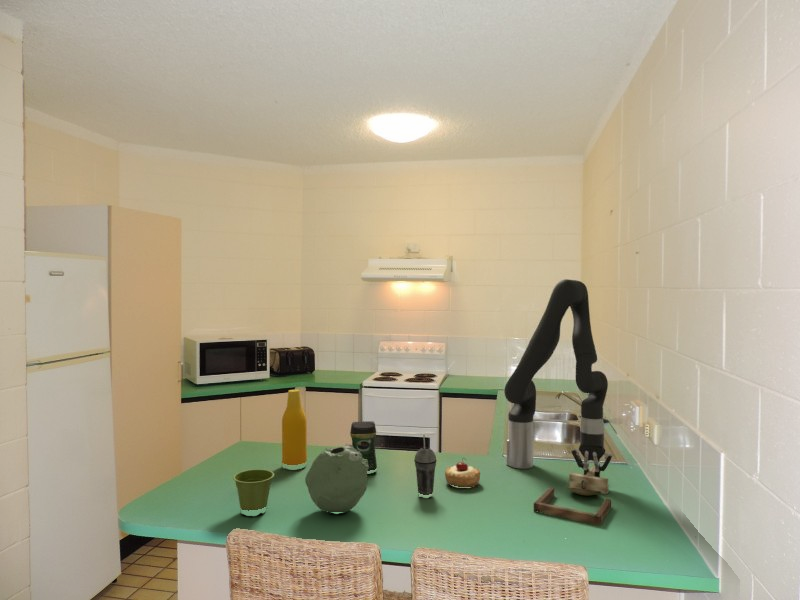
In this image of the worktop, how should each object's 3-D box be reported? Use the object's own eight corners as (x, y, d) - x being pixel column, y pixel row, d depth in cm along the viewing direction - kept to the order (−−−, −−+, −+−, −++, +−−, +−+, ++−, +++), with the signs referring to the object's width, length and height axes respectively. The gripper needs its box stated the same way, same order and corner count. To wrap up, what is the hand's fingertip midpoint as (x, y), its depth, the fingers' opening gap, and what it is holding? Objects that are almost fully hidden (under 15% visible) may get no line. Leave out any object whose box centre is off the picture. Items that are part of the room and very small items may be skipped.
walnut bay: (533, 511, 162) (533, 503, 162) (549, 495, 175) (549, 487, 175) (599, 525, 152) (599, 517, 152) (611, 507, 165) (611, 499, 165)
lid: (565, 500, 171) (565, 484, 171) (567, 489, 181) (567, 474, 180) (601, 504, 168) (601, 488, 168) (601, 493, 177) (601, 478, 177)
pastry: (441, 489, 182) (440, 463, 182) (450, 477, 193) (449, 452, 193) (476, 492, 178) (475, 465, 178) (483, 480, 189) (482, 455, 189)
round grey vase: (306, 503, 169) (306, 439, 169) (367, 500, 171) (366, 437, 171) (304, 525, 153) (303, 454, 153) (370, 521, 156) (370, 451, 155)
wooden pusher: (569, 487, 182) (569, 474, 182) (578, 476, 192) (578, 464, 192) (607, 494, 176) (607, 480, 176) (614, 482, 186) (614, 469, 186)
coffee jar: (376, 468, 203) (376, 418, 203) (377, 475, 195) (377, 424, 195) (350, 469, 202) (350, 419, 202) (350, 476, 194) (350, 424, 194)
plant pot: (239, 524, 154) (239, 484, 154) (228, 510, 164) (228, 473, 164) (279, 515, 160) (279, 477, 160) (267, 502, 170) (266, 466, 170)
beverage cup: (440, 493, 177) (439, 432, 177) (431, 501, 170) (431, 438, 170) (419, 490, 180) (419, 430, 180) (410, 498, 173) (410, 435, 173)
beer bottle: (287, 462, 210) (286, 388, 210) (310, 463, 209) (309, 388, 208) (278, 470, 201) (277, 392, 201) (302, 471, 200) (302, 393, 199)
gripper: (568, 430, 184) (568, 480, 184) (611, 435, 177) (611, 488, 177) (573, 425, 190) (573, 474, 191) (615, 430, 183) (615, 481, 183)
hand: (592, 481), depth 184 cm, fingers closed on wooden pusher, 2 cm apart
